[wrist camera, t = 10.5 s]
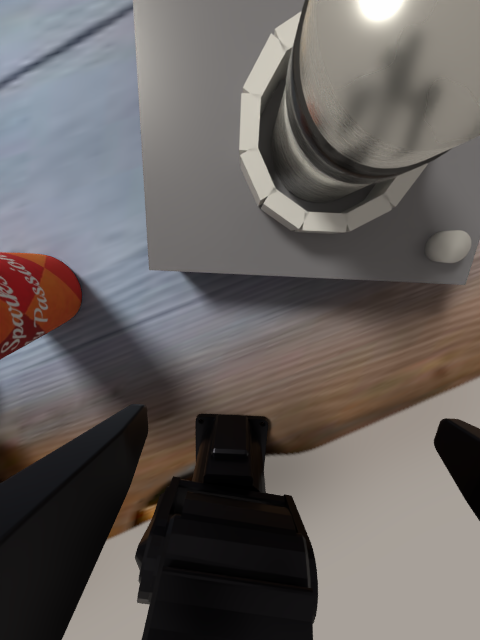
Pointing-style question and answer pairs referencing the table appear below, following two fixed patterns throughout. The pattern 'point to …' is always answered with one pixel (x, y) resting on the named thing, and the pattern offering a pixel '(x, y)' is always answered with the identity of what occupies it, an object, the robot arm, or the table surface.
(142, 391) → the table surface
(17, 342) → the paper cup
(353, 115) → the lens
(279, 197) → the camera body
